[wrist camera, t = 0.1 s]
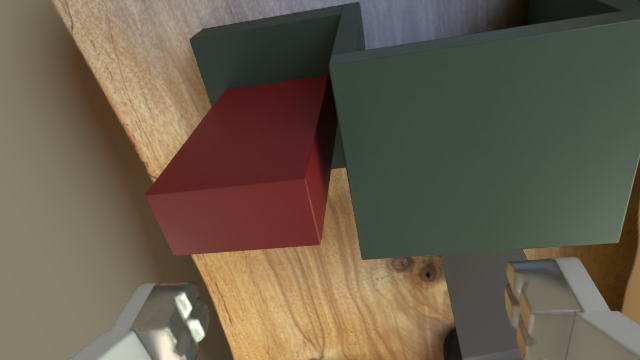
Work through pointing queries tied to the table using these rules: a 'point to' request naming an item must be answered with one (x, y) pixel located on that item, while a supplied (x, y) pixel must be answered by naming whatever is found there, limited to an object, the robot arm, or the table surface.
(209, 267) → the table surface
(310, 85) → the book
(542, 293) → the robot arm
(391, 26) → the table surface
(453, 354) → the gaming mouse
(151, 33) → the table surface
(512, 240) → the shelf
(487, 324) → the perfume bottle
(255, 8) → the table surface
